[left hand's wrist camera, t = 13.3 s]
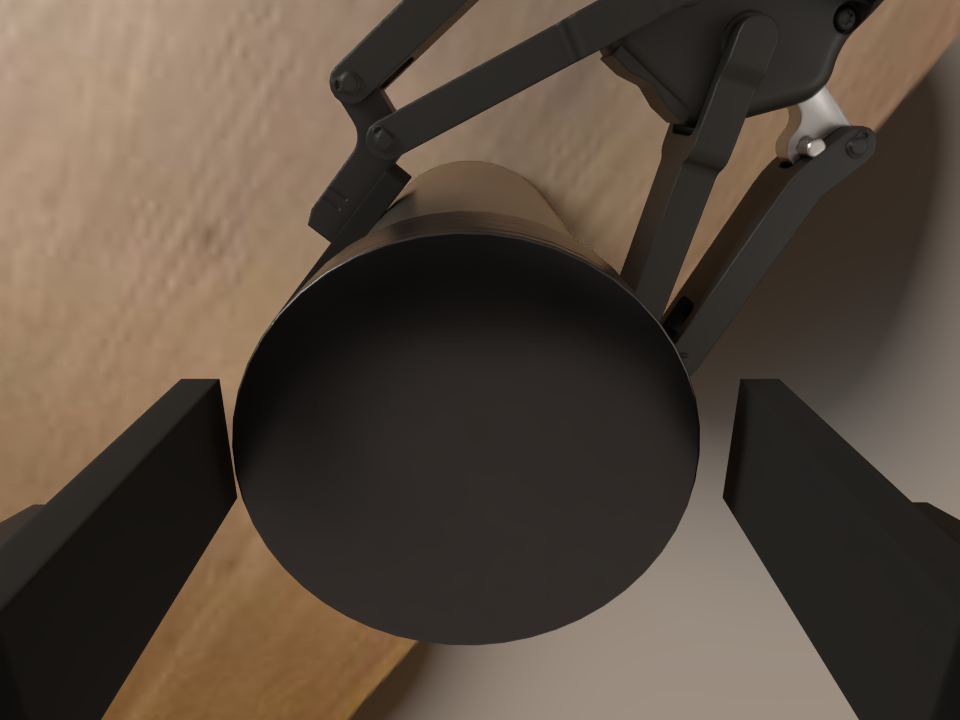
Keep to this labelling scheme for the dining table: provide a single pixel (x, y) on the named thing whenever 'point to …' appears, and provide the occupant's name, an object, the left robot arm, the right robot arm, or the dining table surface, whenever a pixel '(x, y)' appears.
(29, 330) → the dining table surface
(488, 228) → the lid
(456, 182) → the jar
